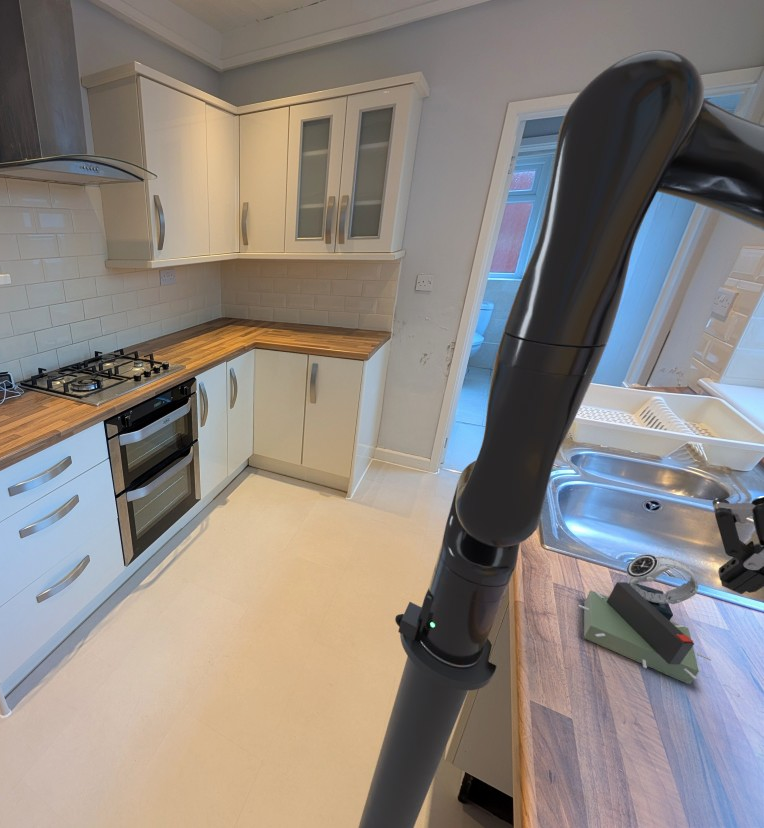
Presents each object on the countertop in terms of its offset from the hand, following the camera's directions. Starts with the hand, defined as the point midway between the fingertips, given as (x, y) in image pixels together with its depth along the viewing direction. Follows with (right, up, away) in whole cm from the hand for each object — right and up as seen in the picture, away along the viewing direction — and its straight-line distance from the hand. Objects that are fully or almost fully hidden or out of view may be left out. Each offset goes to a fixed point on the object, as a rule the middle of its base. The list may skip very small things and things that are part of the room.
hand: (729, 584), depth 48 cm
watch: (+15, -15, +25) cm, 33 cm away
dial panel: (+8, -17, +20) cm, 27 cm away
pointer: (+8, -14, +18) cm, 24 cm away
